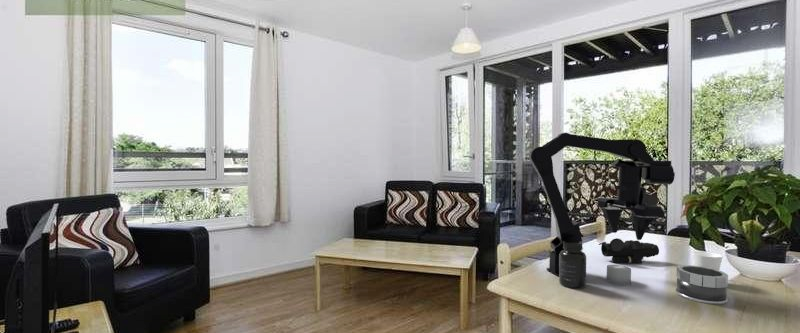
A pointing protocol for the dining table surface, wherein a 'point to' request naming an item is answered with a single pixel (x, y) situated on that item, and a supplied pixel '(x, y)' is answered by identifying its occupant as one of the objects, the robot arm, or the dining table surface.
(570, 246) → the supplement bottle
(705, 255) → the cup
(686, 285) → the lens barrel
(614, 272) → the grey squat block
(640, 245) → the night vision scope
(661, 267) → the dining table surface
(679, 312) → the dining table surface
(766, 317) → the dining table surface
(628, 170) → the robot arm
